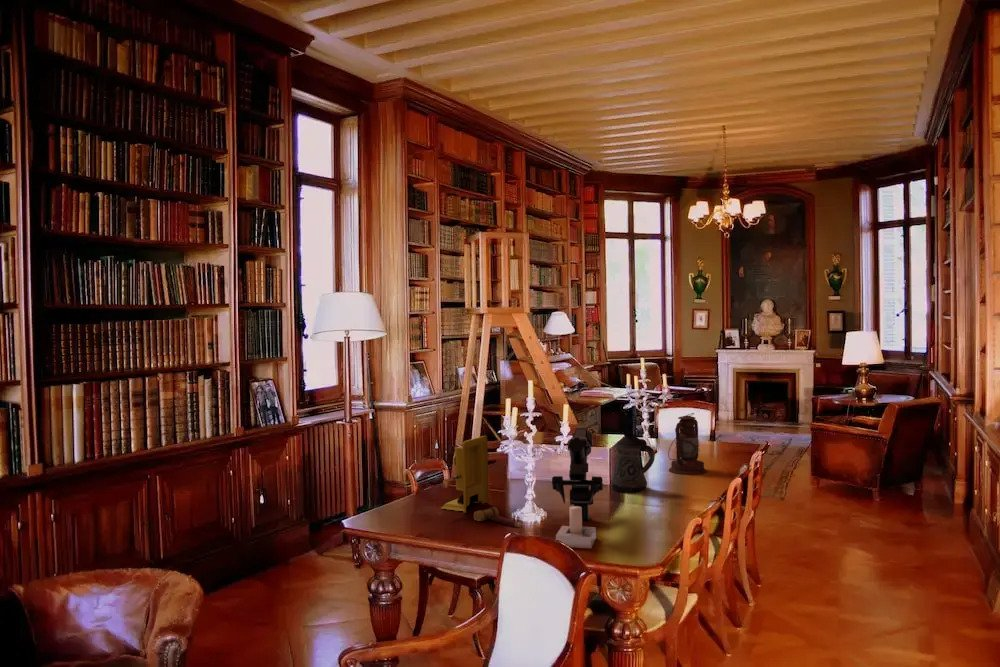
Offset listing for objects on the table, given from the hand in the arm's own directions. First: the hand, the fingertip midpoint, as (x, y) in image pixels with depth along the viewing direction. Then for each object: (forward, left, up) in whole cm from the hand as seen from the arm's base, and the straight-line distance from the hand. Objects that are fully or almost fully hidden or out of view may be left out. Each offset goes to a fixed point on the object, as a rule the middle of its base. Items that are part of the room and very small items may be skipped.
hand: (576, 503), depth 286 cm
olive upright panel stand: (-36, -54, -13) cm, 67 cm away
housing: (+7, +1, -13) cm, 14 cm away
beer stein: (-80, +13, -13) cm, 82 cm away
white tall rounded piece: (+7, +1, -13) cm, 14 cm away
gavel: (-14, -33, -13) cm, 38 cm away
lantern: (-124, +37, -13) cm, 130 cm away
